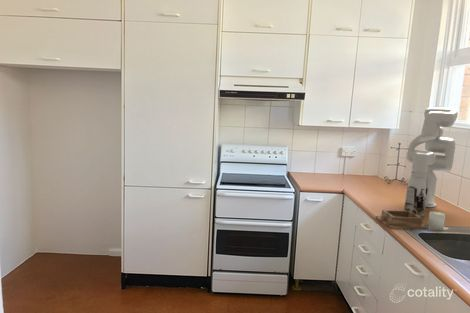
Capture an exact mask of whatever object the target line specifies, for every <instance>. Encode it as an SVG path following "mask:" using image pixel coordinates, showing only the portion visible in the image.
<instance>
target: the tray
mask: <svg viewBox="0 0 470 313" xmlns="http://www.w3.org/2000/svg"><path fill="white" fill-rule="evenodd" d="M375 219H377V220H378V221H379V222H380V223H382V224H383V225H384V226H386V227H388V228H389V229H393V230H394V229H395V230H396V229H398V230H429V226H428V225H427V226H426V225H425V224H424V223H423V217H420V216H418V215H416V214H414V213H413V212H411V211H404V210H393V209H391V210H390V209H389V210H387V209H383V210H382V211H381V215H376V216H375Z"/></svg>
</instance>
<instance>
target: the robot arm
mask: <svg viewBox="0 0 470 313" xmlns="http://www.w3.org/2000/svg"><path fill="white" fill-rule="evenodd" d="M423 114H424V120H423V122H422V123H423V125H422V127H421V131H420V132H421V133H420V134H418V135H417V136H416V137H415V138H413V139H412V141H411V142H410V143H409V146H408V148H407V151H406V152H407V153H406V160H407V162H408V163H409V164H412V165H411V166H412V167H411V174H410V177H409V180H408V186H407V187H409V186H411V187H414V188H416V189H417V194H416V196H418V201H417V208H421V209H422V208H423V202H424V200H425V198H426V197H427V199H426V207H427V208H435V207H436V206H437V203H436V202H435V195H436V187H437V186H436V185H437V179H438V178H437V174H436V173H435V172H434V171H437V172H443V173H444V172H445V173H446V172H447V173H448V172H450V171H451V170H452V168H453V165H454V158H455V151H456V141H455V139H453V138H450V137H443V134H444V128H452V127H453V125H454V124H455V122H456V121H457V118H458V115H459V114H458V110H457V109H456V108H453V107H428V108H426V109H425V110H424V112H423ZM421 144H424V149H425V150H417V149H416V148H417V147H418V146H420V145H421ZM443 154H444V155H443ZM426 188H428V191H427V195H426V193H425V192H426ZM420 193H421V196H420ZM420 197H421V198H420ZM426 207H425V208H426Z"/></svg>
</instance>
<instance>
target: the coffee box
mask: <svg viewBox="0 0 470 313" xmlns="http://www.w3.org/2000/svg"><path fill="white" fill-rule="evenodd" d="M427 191H428V188H426V192H425V193H426V195H427ZM416 194H417V189H416V188H414V187H411V186H409V187H408V186H407V187H406V194H405V201H404V210H403V211H411V212H413V213H414V214H416V215H418V216H420V217H421V218H423V217H425V213H426V199H427V197H426V198H425V200H424V202H423V208H422V209H421V208H417V201H418V196H416ZM420 196H421V193H420ZM420 198H421V197H420Z"/></svg>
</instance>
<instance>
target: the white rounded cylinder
mask: <svg viewBox="0 0 470 313" xmlns="http://www.w3.org/2000/svg"><path fill="white" fill-rule="evenodd" d="M428 212H429V214H428V220H427V227H429V226H430V227H429V228H431V227H432V228H431V229H434V230H444V229H445V221H446V214H445V213H443V212H439V211H428ZM443 228H444V229H443Z"/></svg>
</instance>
